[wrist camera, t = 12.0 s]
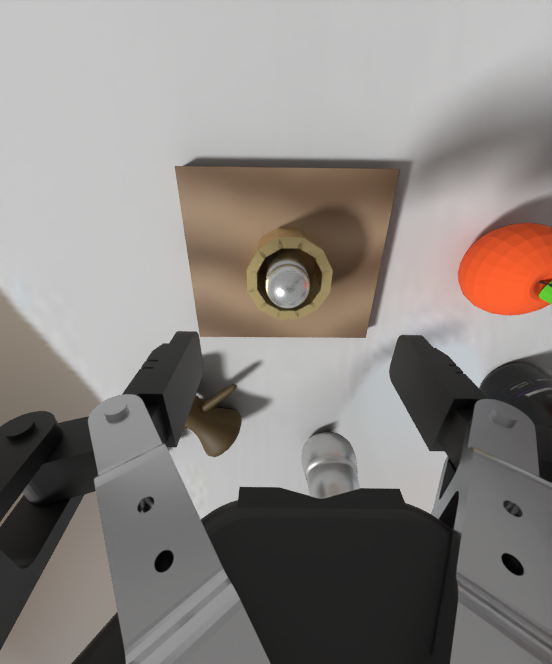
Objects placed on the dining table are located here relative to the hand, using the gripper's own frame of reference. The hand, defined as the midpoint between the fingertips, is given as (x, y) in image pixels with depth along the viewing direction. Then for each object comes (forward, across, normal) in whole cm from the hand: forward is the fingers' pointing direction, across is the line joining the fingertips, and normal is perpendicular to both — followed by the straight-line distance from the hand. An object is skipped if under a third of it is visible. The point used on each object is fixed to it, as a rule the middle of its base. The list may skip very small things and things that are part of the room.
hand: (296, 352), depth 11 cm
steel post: (+13, 0, 0) cm, 13 cm away
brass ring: (+13, 0, 0) cm, 13 cm away
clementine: (+15, -18, 0) cm, 23 cm away
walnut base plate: (+15, 0, 0) cm, 15 cm away
